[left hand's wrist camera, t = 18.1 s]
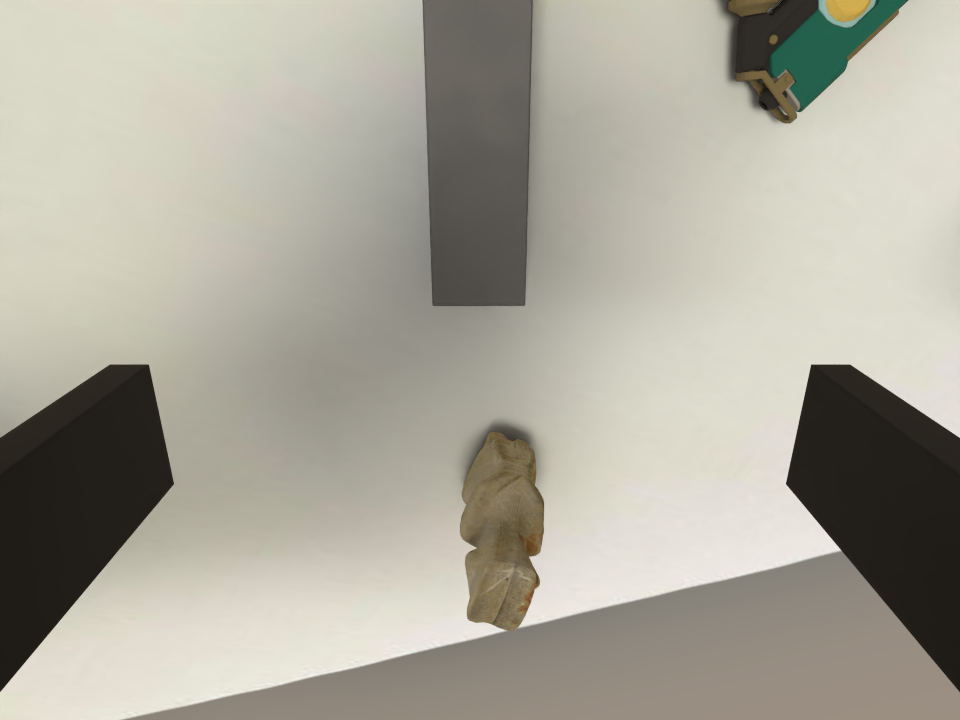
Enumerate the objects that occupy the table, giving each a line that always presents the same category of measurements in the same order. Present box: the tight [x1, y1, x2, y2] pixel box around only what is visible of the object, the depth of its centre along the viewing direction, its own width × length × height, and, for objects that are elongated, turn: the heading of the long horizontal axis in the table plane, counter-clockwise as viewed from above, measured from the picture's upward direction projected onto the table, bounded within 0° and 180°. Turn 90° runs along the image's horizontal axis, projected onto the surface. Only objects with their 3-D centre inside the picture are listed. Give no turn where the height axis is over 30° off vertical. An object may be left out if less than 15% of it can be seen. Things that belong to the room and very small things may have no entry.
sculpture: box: [460, 432, 544, 631], centre depth 44 cm, size 6×7×15 cm
